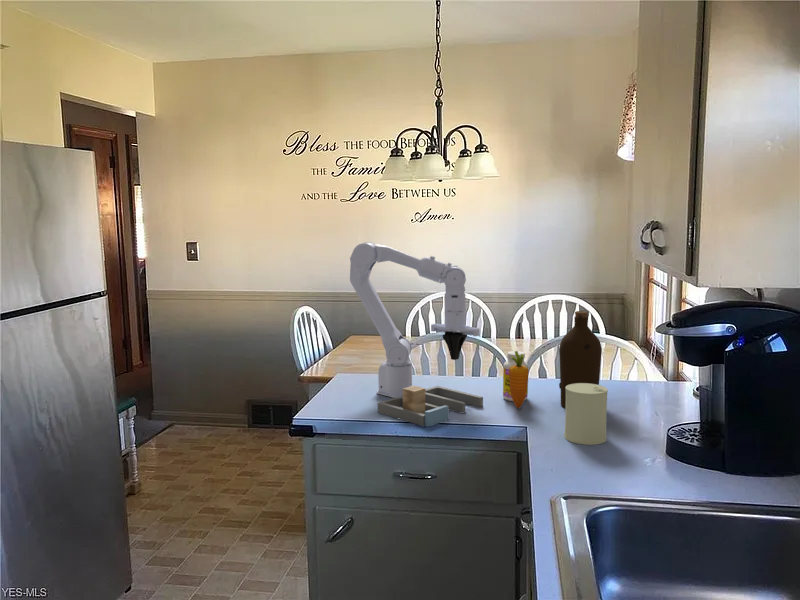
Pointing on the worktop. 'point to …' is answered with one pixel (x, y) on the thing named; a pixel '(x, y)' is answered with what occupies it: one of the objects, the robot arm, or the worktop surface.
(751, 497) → the worktop surface
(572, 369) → the olive oil
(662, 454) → the worktop surface
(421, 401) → the tan rectangular block
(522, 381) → the carrot
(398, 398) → the gray divided frame
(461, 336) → the robot arm
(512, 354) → the supplement bottle
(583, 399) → the can
